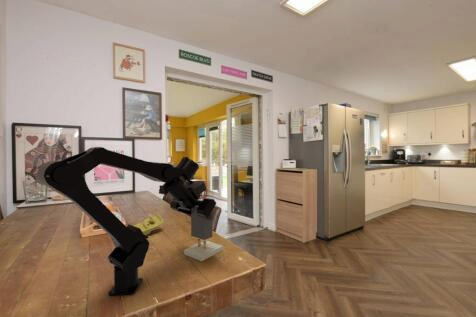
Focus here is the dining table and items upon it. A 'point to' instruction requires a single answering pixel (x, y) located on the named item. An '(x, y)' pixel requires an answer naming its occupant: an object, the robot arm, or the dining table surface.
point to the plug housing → (200, 226)
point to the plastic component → (150, 224)
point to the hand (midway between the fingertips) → (204, 217)
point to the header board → (203, 250)
